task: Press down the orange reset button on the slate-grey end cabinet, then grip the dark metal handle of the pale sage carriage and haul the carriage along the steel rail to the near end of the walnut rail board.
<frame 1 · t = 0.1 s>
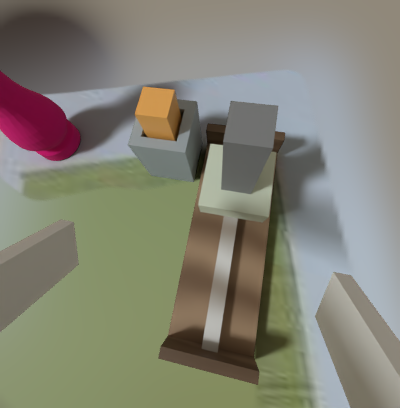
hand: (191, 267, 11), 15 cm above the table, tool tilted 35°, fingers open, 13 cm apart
rail board: (227, 237, 26), on the table
pepper mill: (61, 143, 32), on the table
carriage: (241, 165, 19), point 9 cm above the table, slide at 0.0 cm
end cabinet: (177, 158, 30), on the table
reset button: (162, 122, 22), point 8 cm above the table, slide at 0.0 cm
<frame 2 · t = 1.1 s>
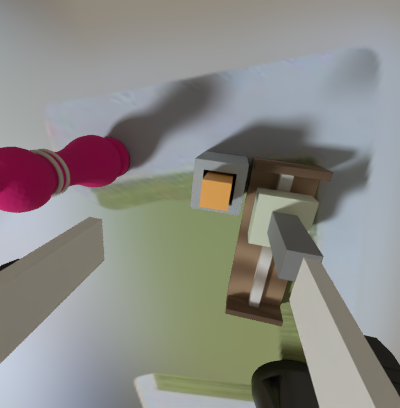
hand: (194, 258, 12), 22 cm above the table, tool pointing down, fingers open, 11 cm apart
rail board: (266, 239, 35), on the table
pepper mill: (112, 157, 35), on the table
carriage: (286, 235, 24), point 9 cm above the table, slide at 0.0 cm
end cabinet: (223, 173, 32), on the table
reset button: (217, 187, 25), point 8 cm above the table, slide at 0.0 cm
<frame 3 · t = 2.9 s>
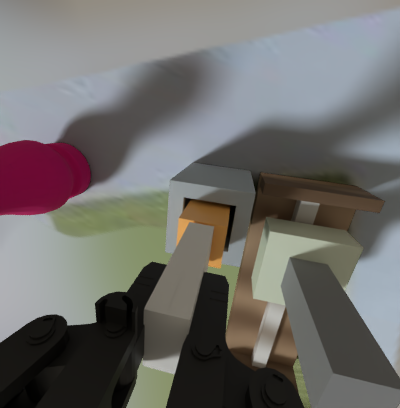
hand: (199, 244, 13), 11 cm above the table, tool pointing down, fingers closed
rail board: (276, 280, 26), on the table
pepper mill: (68, 169, 26), on the table
carriage: (314, 302, 15), point 9 cm above the table, slide at 0.0 cm
end cabinet: (217, 193, 23), on the table
reset button: (207, 223, 16), point 8 cm above the table, slide at 0.3 cm, touching gripper
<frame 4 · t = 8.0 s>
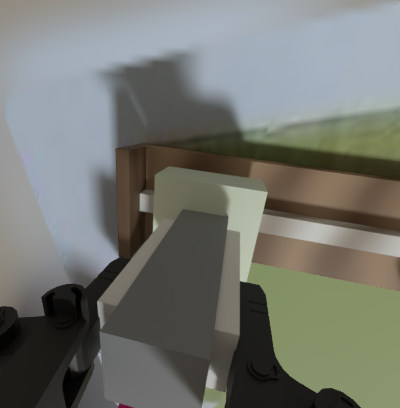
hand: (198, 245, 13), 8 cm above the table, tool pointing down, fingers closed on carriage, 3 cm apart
rail board: (273, 213, 19), on the table
carriage: (193, 259, 12), point 9 cm above the table, slide at 0.0 cm, touching gripper
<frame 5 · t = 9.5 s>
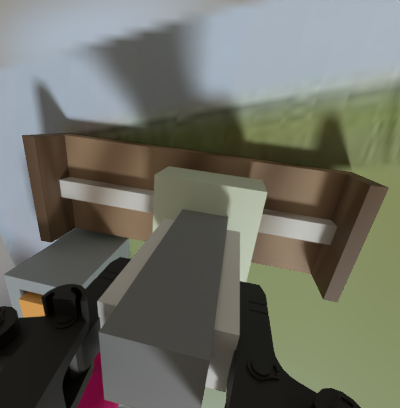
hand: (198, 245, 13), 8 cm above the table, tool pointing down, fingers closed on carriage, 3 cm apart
rail board: (192, 199, 20), on the table
pepper mill: (111, 359, 31), on the table
carriage: (193, 259, 12), point 9 cm above the table, slide at 7.4 cm, touching gripper
end cabinet: (104, 256, 24), on the table
reset button: (68, 290, 19), point 5 cm above the table, slide at 2.5 cm
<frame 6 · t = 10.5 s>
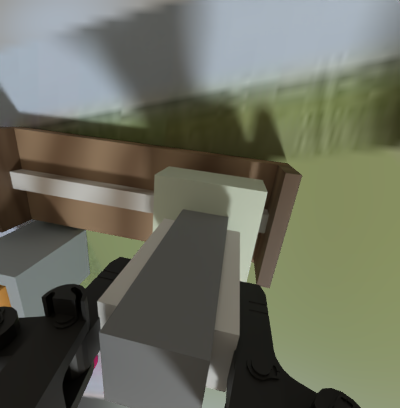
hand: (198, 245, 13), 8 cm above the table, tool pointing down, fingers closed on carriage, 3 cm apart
rail board: (142, 191, 21), on the table
carriage: (193, 259, 12), point 9 cm above the table, slide at 12.4 cm, touching gripper
end cabinet: (64, 247, 25), on the table
reset button: (19, 279, 20), point 5 cm above the table, slide at 2.5 cm
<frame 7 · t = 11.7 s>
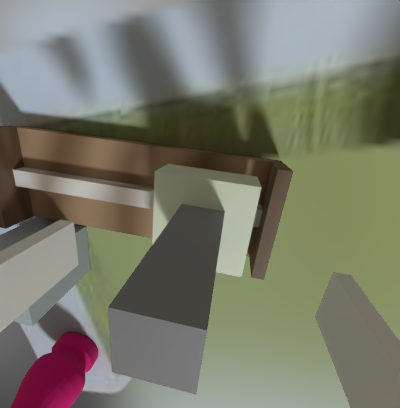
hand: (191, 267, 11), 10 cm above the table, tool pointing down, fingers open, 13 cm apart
rail board: (141, 188, 21), on the table
pepper mill: (80, 345, 32), on the table
carriage: (192, 250, 12), point 9 cm above the table, slide at 12.5 cm
end cabinet: (65, 244, 26), on the table
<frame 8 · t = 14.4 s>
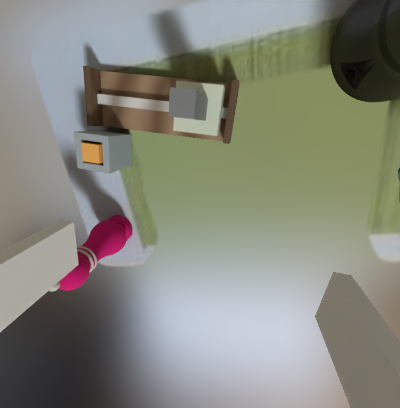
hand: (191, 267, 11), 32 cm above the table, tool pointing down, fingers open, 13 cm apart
rail board: (165, 107, 39), on the table
pepper mill: (120, 227, 50), on the table
carriage: (193, 107, 30), point 9 cm above the table, slide at 12.5 cm
end cabinet: (117, 148, 43), on the table
reset button: (101, 151, 38), point 5 cm above the table, slide at 2.5 cm
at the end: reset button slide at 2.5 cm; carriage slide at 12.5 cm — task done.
